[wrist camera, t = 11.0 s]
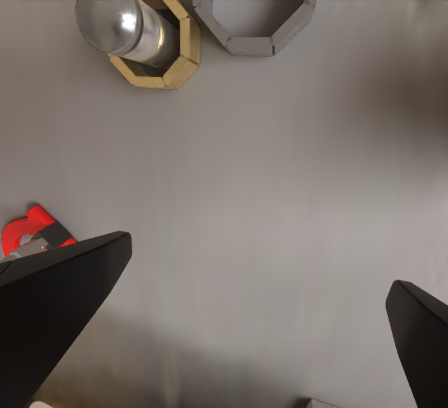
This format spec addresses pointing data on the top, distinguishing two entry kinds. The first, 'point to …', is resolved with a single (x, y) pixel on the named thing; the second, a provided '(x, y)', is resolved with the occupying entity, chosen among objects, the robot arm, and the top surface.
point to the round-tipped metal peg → (129, 31)
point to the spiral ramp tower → (319, 404)
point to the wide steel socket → (256, 44)
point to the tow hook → (43, 235)
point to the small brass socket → (181, 66)
